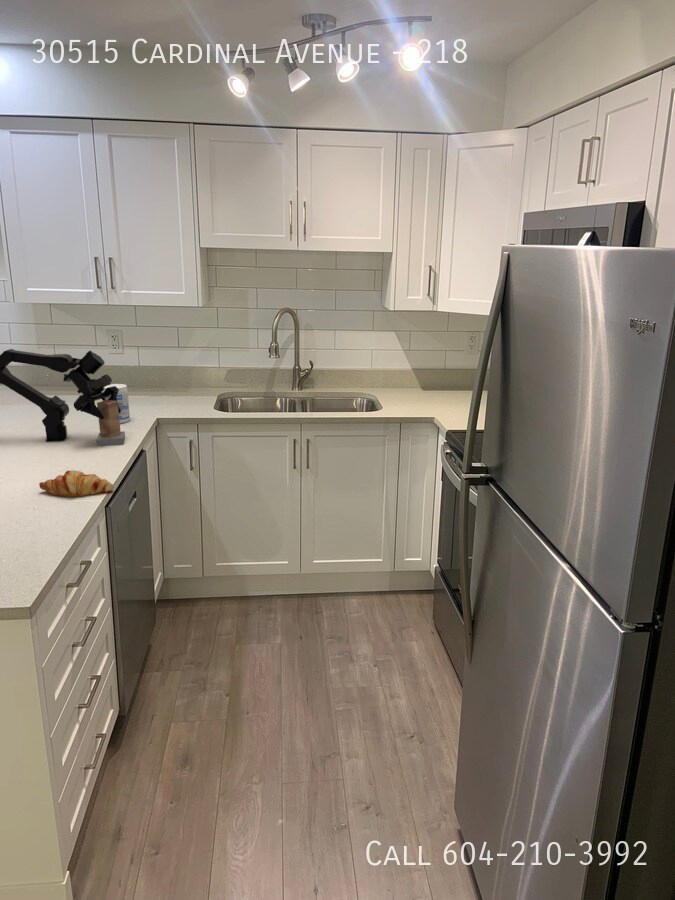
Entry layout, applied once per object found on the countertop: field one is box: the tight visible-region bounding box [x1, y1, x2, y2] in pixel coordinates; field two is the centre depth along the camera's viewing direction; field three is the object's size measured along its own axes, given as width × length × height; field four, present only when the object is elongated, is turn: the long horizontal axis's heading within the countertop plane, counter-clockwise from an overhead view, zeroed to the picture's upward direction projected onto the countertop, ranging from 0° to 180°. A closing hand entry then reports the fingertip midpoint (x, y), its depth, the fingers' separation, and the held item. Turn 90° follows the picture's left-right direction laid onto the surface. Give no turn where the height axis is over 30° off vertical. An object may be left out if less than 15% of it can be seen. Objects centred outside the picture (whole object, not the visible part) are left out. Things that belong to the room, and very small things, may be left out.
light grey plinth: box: [96, 431, 126, 447], centre depth 238 cm, size 9×9×2 cm
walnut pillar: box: [96, 400, 122, 438], centre depth 235 cm, size 5×5×12 cm
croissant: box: [38, 469, 115, 497], centre depth 189 cm, size 21×10×8 cm, turn 94°
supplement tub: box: [102, 383, 131, 424], centre depth 264 cm, size 10×10×15 cm
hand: (111, 415), depth 235 cm, fingers open, 9 cm apart
